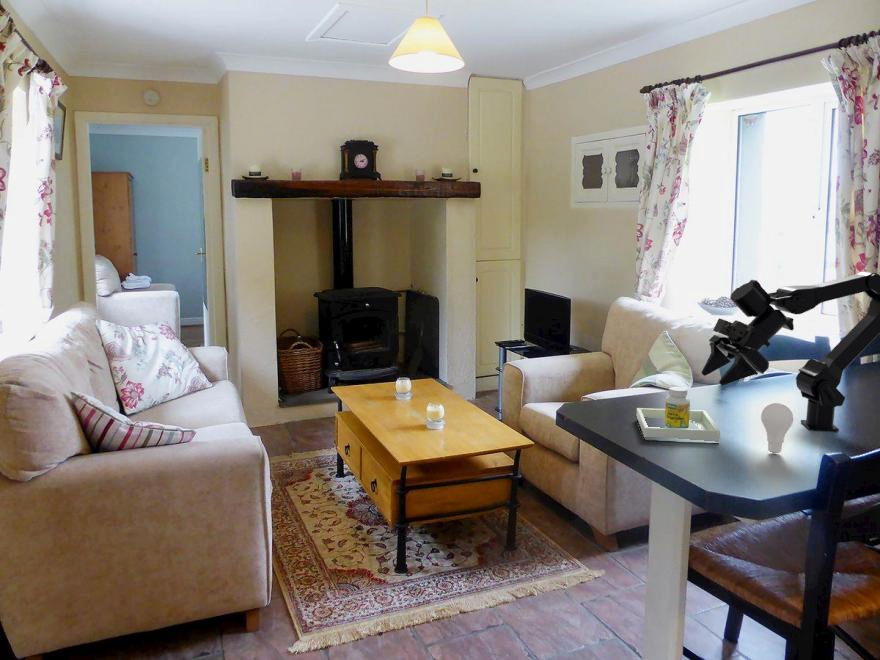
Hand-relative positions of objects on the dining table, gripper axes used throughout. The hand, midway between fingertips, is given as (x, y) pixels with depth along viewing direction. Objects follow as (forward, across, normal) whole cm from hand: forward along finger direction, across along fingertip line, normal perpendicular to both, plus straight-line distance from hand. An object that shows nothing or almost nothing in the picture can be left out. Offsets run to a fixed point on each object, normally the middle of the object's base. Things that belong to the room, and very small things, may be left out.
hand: (711, 379), depth 164 cm
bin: (+14, 0, +3) cm, 15 cm away
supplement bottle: (+14, 0, +3) cm, 14 cm away
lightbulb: (+4, +17, +14) cm, 22 cm away
